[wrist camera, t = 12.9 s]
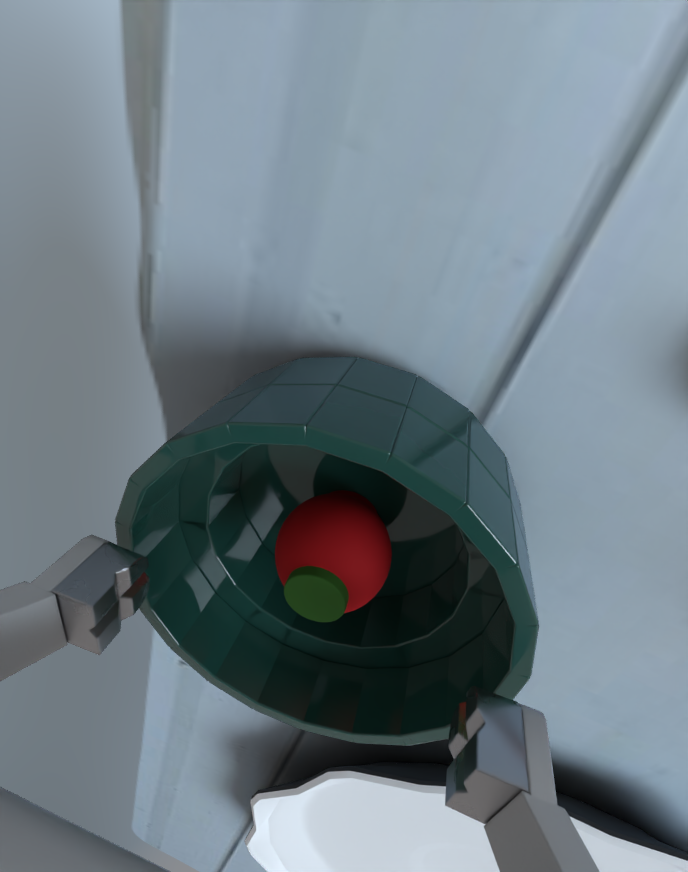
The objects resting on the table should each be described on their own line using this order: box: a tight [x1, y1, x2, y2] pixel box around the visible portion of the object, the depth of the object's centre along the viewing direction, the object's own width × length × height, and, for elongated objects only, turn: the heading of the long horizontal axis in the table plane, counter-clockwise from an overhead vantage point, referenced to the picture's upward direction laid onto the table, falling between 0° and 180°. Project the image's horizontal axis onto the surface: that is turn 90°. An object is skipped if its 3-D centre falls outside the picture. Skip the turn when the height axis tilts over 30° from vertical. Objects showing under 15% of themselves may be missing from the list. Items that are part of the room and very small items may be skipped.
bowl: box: [115, 357, 539, 746], centre depth 13 cm, size 11×11×5 cm
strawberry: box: [275, 490, 392, 622], centre depth 13 cm, size 4×4×4 cm
